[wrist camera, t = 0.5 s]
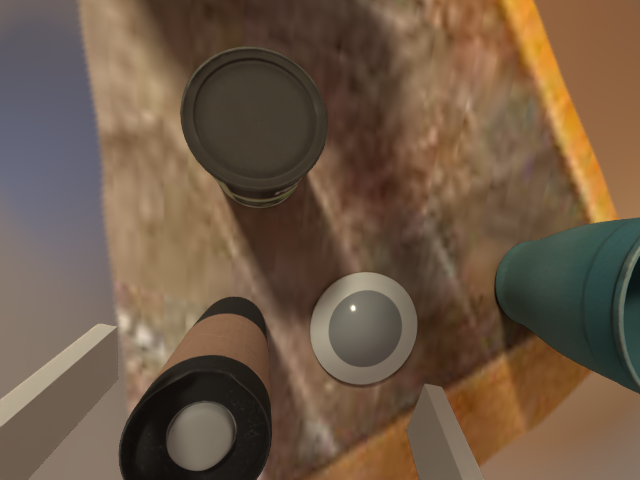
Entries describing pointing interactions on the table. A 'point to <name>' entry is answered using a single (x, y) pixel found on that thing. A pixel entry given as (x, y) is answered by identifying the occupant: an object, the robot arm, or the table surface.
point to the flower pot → (580, 295)
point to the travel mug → (206, 404)
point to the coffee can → (254, 123)
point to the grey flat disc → (363, 328)
